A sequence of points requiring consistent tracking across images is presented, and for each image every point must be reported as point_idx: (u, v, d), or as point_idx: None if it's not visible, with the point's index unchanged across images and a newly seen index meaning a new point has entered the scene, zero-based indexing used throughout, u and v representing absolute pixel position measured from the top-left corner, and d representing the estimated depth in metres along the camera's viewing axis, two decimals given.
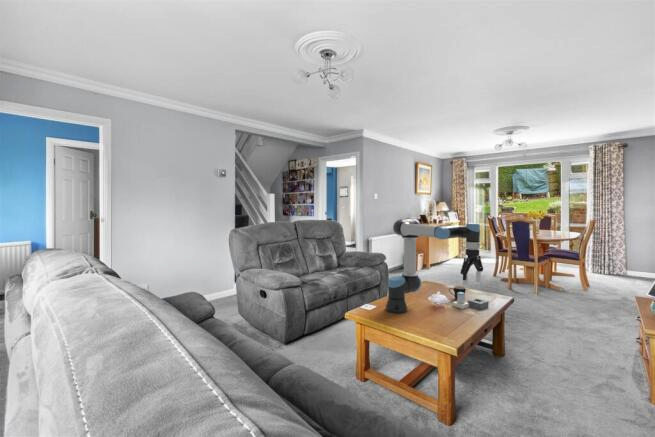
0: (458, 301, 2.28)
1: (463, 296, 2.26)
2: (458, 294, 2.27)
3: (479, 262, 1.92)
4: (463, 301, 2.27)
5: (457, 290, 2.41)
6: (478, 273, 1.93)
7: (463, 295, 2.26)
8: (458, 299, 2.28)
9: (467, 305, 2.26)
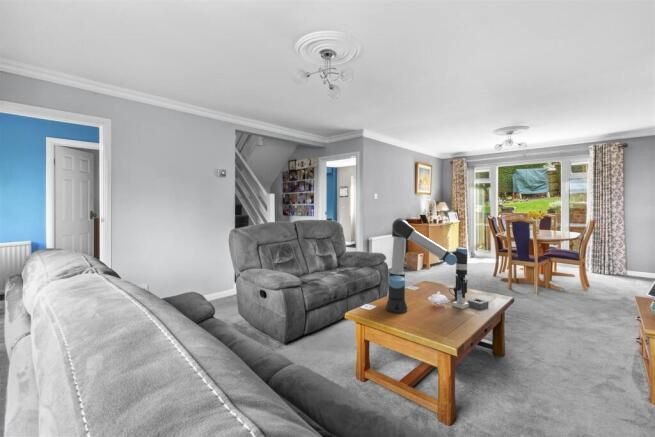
0: (458, 301, 2.28)
1: None
2: (458, 294, 2.27)
3: None
4: None
5: None
6: None
7: None
8: (458, 299, 2.28)
9: (467, 305, 2.26)
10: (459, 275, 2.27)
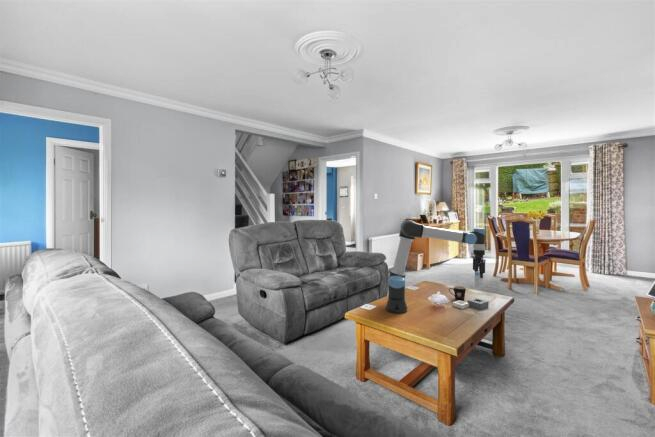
0: (476, 282, 2.26)
1: None
2: (476, 275, 2.26)
3: None
4: None
5: (457, 290, 2.41)
6: None
7: None
8: (476, 280, 2.26)
9: (467, 305, 2.26)
10: (477, 255, 2.26)
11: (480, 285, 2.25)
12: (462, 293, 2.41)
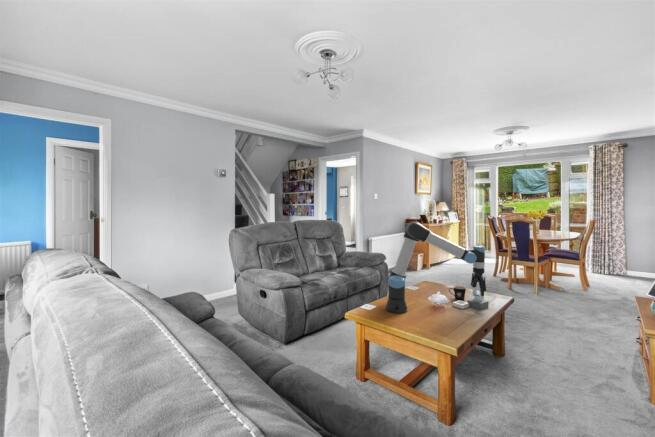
0: None
1: None
2: (475, 295, 2.27)
3: None
4: None
5: (457, 290, 2.41)
6: (475, 289, 2.32)
7: None
8: (475, 300, 2.27)
9: (467, 305, 2.26)
10: (476, 274, 2.27)
11: None
12: (462, 293, 2.41)
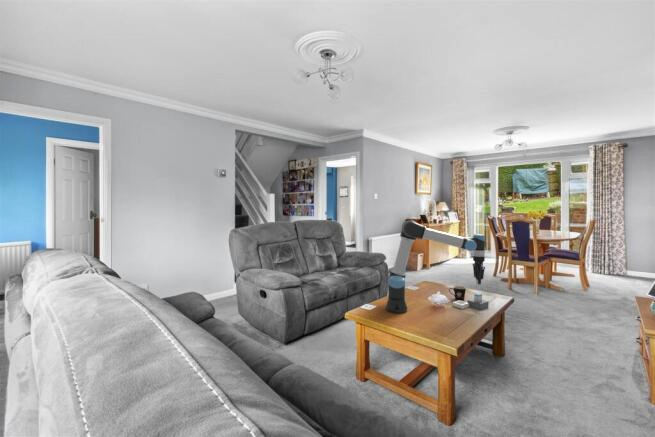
0: None
1: (480, 297, 2.26)
2: (475, 295, 2.27)
3: None
4: None
5: (457, 290, 2.41)
6: None
7: (480, 296, 2.26)
8: (475, 300, 2.27)
9: (467, 305, 2.26)
10: None
11: None
12: (462, 293, 2.41)
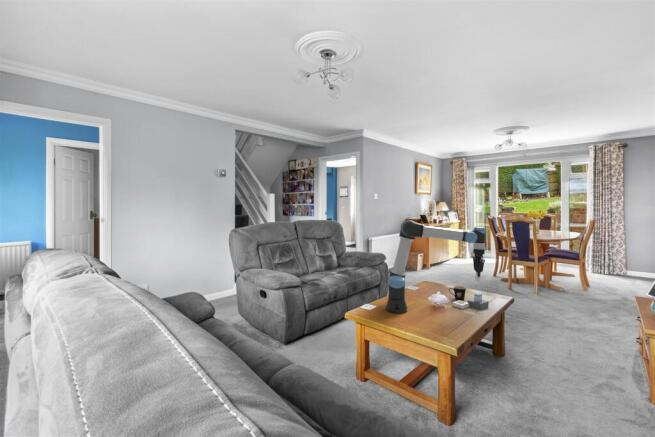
0: None
1: (480, 297, 2.26)
2: (475, 295, 2.27)
3: None
4: None
5: (457, 290, 2.41)
6: None
7: (480, 296, 2.26)
8: (475, 300, 2.27)
9: (467, 305, 2.26)
10: (476, 254, 2.26)
11: None
12: (462, 293, 2.41)
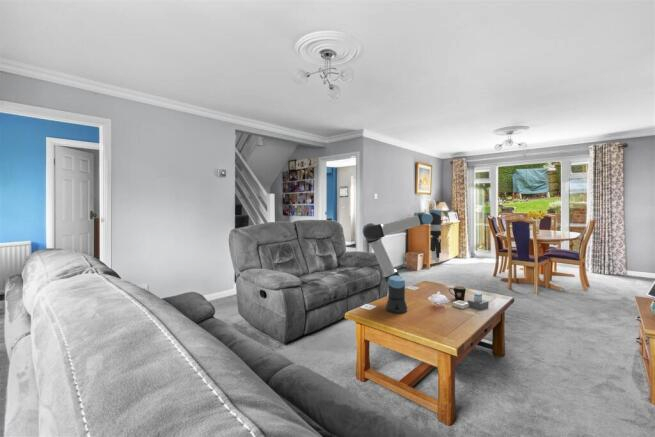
0: None
1: (480, 297, 2.26)
2: (475, 295, 2.27)
3: None
4: None
5: (457, 290, 2.41)
6: (434, 253, 2.36)
7: (480, 296, 2.26)
8: (475, 300, 2.27)
9: (467, 305, 2.26)
10: (433, 236, 2.33)
11: None
12: (462, 293, 2.41)
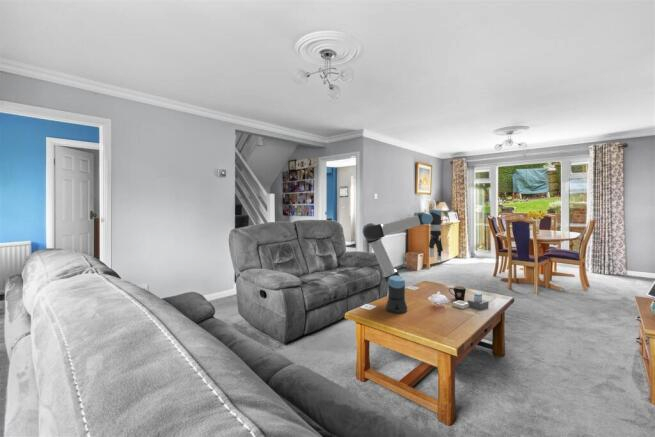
0: None
1: (480, 297, 2.26)
2: (475, 295, 2.27)
3: None
4: None
5: (457, 290, 2.41)
6: (432, 250, 2.39)
7: (480, 296, 2.26)
8: (475, 300, 2.27)
9: (467, 305, 2.26)
10: None
11: None
12: (462, 293, 2.41)
